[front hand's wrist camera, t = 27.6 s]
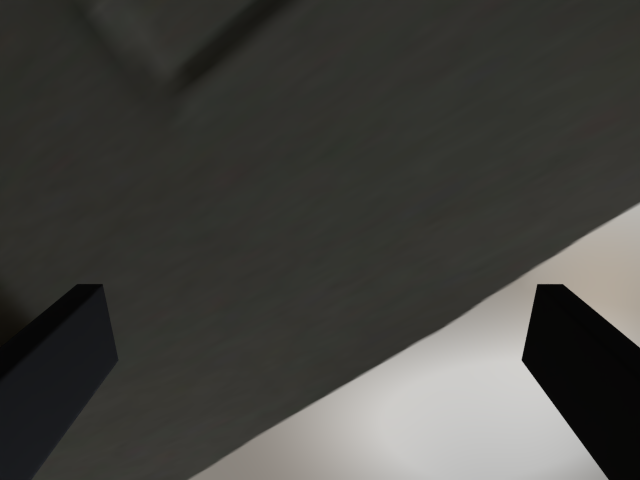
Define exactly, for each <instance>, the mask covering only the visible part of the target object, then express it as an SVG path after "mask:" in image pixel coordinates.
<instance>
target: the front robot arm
mask: <svg viewBox="0 0 640 480" xmlns="http://www.w3.org/2000/svg"><path fill="white" fill-rule="evenodd" d="M117 361H118V356H117V351H116V346H115V342H114V337H113V332H112V327H111V322H110V318H109V313H108V308H107V303H106V298H105V294H104V289H103V284H77V285H76V286H74V287H73V288H72V289H71V290H70V291H68V292H67V293H66V294H65V295H64V296H62V297H61V298H60V299H59V300H58V301H56V302H55V303H54V304H53V305H51V306H50V307H49V308H48V309H47V310H45V311H44V312H43V313H42V314H41V315H39V316H38V317H37V318H36V319H34V320H33V321H32V322H31V323H30V324H28V325H27V326H26V327H25V328H24V329H22V330H21V331H20V332H19V333H18V334H16V335H15V336H14V337H13V338H11V339H10V340H9V341H8V342H7V343H5V344H4V345H3V346H2V347H1V348H0V480H31V479H32V478H33V477H34V475H35V474H36V472H37V471H38V470H39V468H40V467H41V466H42V464H43V463H44V462H45V460H46V459H47V457H48V456H49V455H50V453H51V452H52V451H53V449H54V448H55V446H56V445H57V444H58V442H59V441H60V440H61V438H62V437H63V435H64V434H65V433H66V431H67V430H68V429H69V427H70V426H71V425H72V423H73V422H74V420H75V419H76V418H77V416H78V415H79V414H80V412H81V411H82V409H83V408H84V407H85V405H86V404H87V403H88V401H89V400H90V398H91V397H92V396H93V394H94V393H95V392H96V390H97V389H98V387H99V386H100V385H101V383H102V382H103V381H104V379H105V378H106V377H107V375H108V374H109V372H110V371H111V370H112V368H113V367H114V366H115V364H116V363H117ZM522 361H523V363H524V364H525V366H526V367H527V368H528V370H529V371H530V372H531V374H532V375H533V377H534V378H535V379H536V381H537V382H538V383H539V385H540V386H541V387H542V389H543V390H544V392H545V393H546V394H547V396H548V397H549V398H550V400H551V401H552V402H553V404H554V405H555V407H556V408H557V409H558V411H559V412H560V413H561V415H562V416H563V418H564V419H565V420H566V422H567V423H568V425H569V426H570V427H571V429H572V430H573V431H574V433H575V434H576V435H577V437H578V438H579V440H580V441H581V442H582V444H583V445H584V446H585V448H586V449H587V450H588V452H589V453H590V455H591V456H592V457H593V459H594V460H595V461H596V463H597V464H598V465H599V467H600V468H601V470H602V471H603V472H604V474H605V475H606V477H607V478H608V479H609V480H640V348H639V347H638V346H637V345H636V344H635V343H633V342H632V341H631V340H630V339H629V338H627V337H626V336H625V335H624V334H622V333H621V332H620V331H619V330H618V329H616V328H615V327H614V326H613V325H612V324H610V323H609V322H608V321H607V320H605V319H604V318H603V317H602V316H601V315H599V314H598V313H597V312H596V311H595V310H593V309H592V308H591V307H590V306H589V305H587V304H586V303H585V302H584V301H582V300H581V299H580V298H579V297H578V296H576V295H575V294H574V293H573V292H572V291H570V290H569V289H568V288H567V287H566V286H564V285H563V284H537V289H536V294H535V298H534V303H533V308H532V313H531V318H530V322H529V327H528V332H527V337H526V342H525V346H524V351H523V356H522Z"/></svg>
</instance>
